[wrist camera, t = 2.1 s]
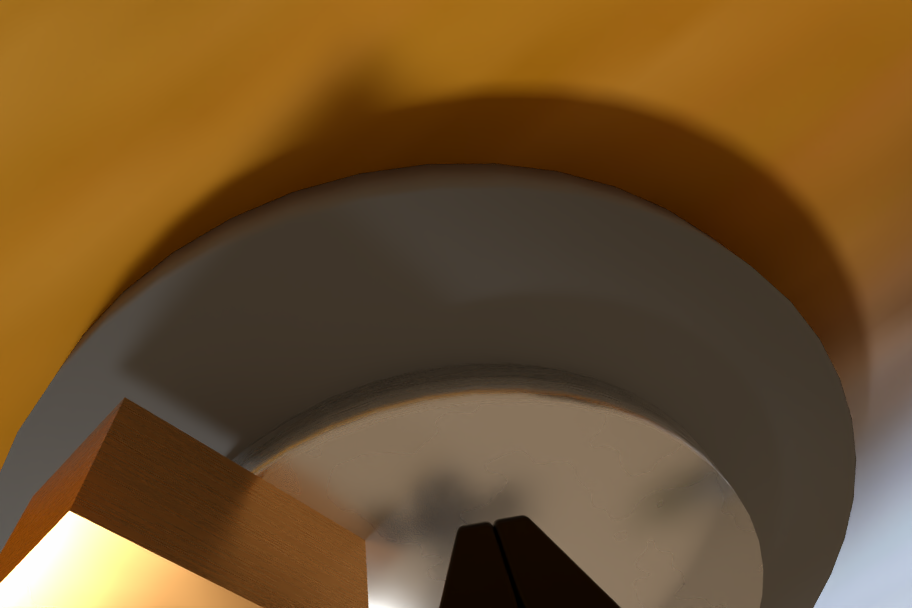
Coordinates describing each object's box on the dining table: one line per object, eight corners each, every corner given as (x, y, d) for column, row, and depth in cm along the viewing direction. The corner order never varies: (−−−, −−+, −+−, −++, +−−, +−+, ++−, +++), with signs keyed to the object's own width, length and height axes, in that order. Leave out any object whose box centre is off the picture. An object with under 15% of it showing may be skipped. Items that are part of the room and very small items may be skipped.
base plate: (860, 610, 26) (898, 657, 24) (303, 854, 27) (301, 915, 26) (713, -25, 15) (764, -23, 13) (-212, 440, 16) (-280, 498, 14)
